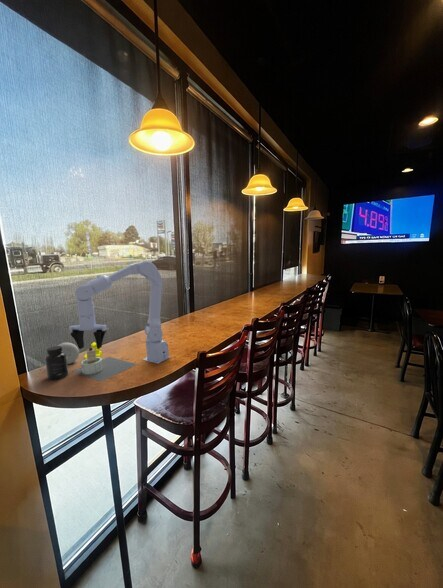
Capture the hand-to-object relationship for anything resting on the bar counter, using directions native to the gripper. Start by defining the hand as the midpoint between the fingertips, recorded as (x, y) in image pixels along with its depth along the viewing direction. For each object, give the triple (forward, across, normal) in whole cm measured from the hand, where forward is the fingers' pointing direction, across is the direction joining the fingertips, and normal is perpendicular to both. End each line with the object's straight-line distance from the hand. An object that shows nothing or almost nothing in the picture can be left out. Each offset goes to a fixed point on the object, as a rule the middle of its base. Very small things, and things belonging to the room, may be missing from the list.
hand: (90, 347), depth 100 cm
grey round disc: (+10, +16, -7) cm, 20 cm away
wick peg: (+9, 0, 0) cm, 9 cm away
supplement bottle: (+10, +11, +5) cm, 16 cm away
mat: (+10, -4, -2) cm, 11 cm away
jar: (+10, 0, 0) cm, 10 cm away
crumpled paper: (+10, +8, -13) cm, 19 cm away
